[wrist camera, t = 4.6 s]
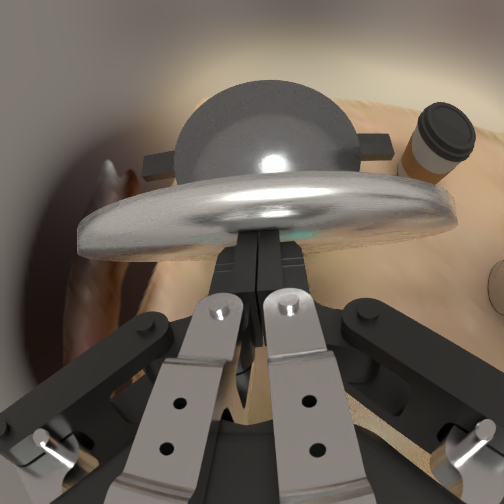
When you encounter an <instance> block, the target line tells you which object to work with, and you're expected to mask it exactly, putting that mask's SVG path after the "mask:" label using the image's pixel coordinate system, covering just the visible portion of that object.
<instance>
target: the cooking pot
mask: <svg viewBox="0 0 504 504" xmlns="http://www.w3.org/2000/svg"><path fill="white" fill-rule="evenodd" d="M394 154H395V153H394V150H393V146H392V143H391V140H390V137H389V134H356V131H355V129H354V127H353V125H352V123H351V121H350V120H349V118H348V117H347V116H346V114H345V113H344V112H343V111H342V110H341V109H340V107H339V106H338V105H336V104H335V103H334V102H333V101H332V100H331V99H329V98H328V97H326V96H325V95H323V94H322V93H320V92H317V91H316V90H314V89H311V88H309V87H306V86H303V85H301V84H296V83H293V82H288V81H281V80H261V81H253V82H247V83H244V84H239V85H236V86H233V87H231V88H228V89H226V90H224V91H222V92H220V93H218V94H216V95H215V96H213V97H211V98H210V99H208V100H207V101H206V102H205V103H203V104H202V105H201V106H200V107H199V108H198V109H197V110H196V111H195V112H194V113H193V114H192V115H191V117H190V118H189V119H188V120H187V122H186V124H185V125H184V127H183V129H182V131H181V133H180V135H179V137H178V140H177V144H176V147H175V151H169V152H164V153H158V154H153V155H148V156H144V160H143V170H142V177H143V178H144V180H145V181H146V182H149V181H156V180H162V179H168V178H175V177H176V181H177V184H178V185H182V184H186V183H191V182H197V181H203V180H210V179H217V178H224V177H232V176H239V175H248V174H261V173H275V172H292V171H352V172H359V170H360V163H361V161H375V160H392V158H393V156H394ZM303 254H305V253H303Z"/></svg>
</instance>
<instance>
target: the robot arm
mask: <svg viewBox="0 0 504 504" xmlns="http://www.w3.org/2000/svg"><path fill="white" fill-rule="evenodd" d="M488 290H489V297H490V300H491V303H492V305H493V307H494V308H495V310H496V311H497V312H498V313H500V314H502V315H504V260H503V261H501V262H499V263H497V264H496V265H495V266H494V268H493V269H492V271H491V274H490V277H489V283H488ZM263 336H264V343H265V346H267V351H268V370H269V381H270V392H271V403H272V414H273V420H269V421H265V422H262V423H258V424H253V425H248V411H249V404H250V397H251V390H252V383H253V376H254V369H255V364H254V358H255V347H263ZM142 369H143V370H144V372H145V375H143V376H142V377H141V378H140V379H138V380H137V381H136V382H134V383H133V384H132V385H131V386H129V387H128V388H127V389H126V390H124V391H123V392H121V393H120V394H119V395H117V396H116V397H113V398H110V396H111V394H112V393H113V391H115V390H116V389H117V388H118V387H119V386H121V385H122V384H124V383H125V382H126V381H128V380H129V379H130V378H131V377H133V376H134V375H135V374H137V373H138V372H139V371H141V370H142ZM345 391H346V392H347V393H348V394H349V395H351V396H352V397H353V398H355V399H356V400H357V401H359V402H360V403H361V404H362V405H364V406H365V407H366V408H368V409H369V410H370V411H372V412H373V413H374V414H376V415H377V416H378V417H380V418H381V419H382V420H384V421H385V422H386V423H388V424H389V425H390V426H392V427H393V428H395V429H396V430H397V431H399V432H400V433H401V434H403V435H404V436H406V437H407V438H408V439H410V440H411V441H412V442H414V443H415V444H417V445H418V446H419V447H421V448H422V449H424V450H425V451H427V452H428V453H429V454H431V458H430V468H431V471H432V474H433V475H434V477H435V478H436V479H437V480H438V481H439V482H440V483H441V484H442V485H441V484H439V483H438V482H437V481H435V480H434V479H433V478H431V477H430V476H429V475H427V474H426V473H425V472H423V471H422V470H421V469H420V468H418V467H417V466H416V465H414V464H413V463H412V462H411V461H409V460H408V459H407V458H406V457H404V456H403V455H402V454H401V453H399V452H398V451H397V450H396V449H394V448H393V447H392V446H391V445H389V444H388V443H387V442H386V441H385V440H383V439H382V438H381V437H379V436H378V435H377V434H375V433H373V432H372V431H370V430H368V429H366V428H363V427H361V426H358V425H355V424H353V421H352V417H351V413H350V409H349V405H348V401H347V398H346V394H345ZM0 454H1V455H2V456H3V457H5V458H6V459H7V460H9V461H10V462H11V463H12V464H13V465H14V466H15V467H16V469H17V471H18V473H19V476H20V478H21V480H22V482H23V485H24V487H25V489H26V491H27V493H28V495H29V497H30V499H31V501H32V503H33V504H499V503H500V501H501V500H502V498H503V496H504V373H503V372H501V371H500V370H498V369H496V368H495V367H493V366H491V365H490V364H488V363H486V362H485V361H483V360H481V359H480V358H478V357H476V356H475V355H473V354H471V353H470V352H468V351H466V350H465V349H463V348H461V347H459V346H458V345H456V344H454V343H453V342H451V341H449V340H448V339H446V338H444V337H442V336H441V335H439V334H437V333H436V332H434V331H432V330H430V329H429V328H427V327H425V326H423V325H422V324H420V323H418V322H417V321H415V320H413V319H411V318H410V317H408V316H406V315H404V314H403V313H401V312H399V311H397V310H396V309H394V308H392V307H390V306H389V305H387V304H385V303H383V302H381V301H379V300H376V299H372V298H360V299H356V300H353V301H351V302H350V303H348V304H347V305H346V306H345V308H344V309H343V310H339V309H332V308H328V307H324V306H322V305H320V304H318V303H317V302H316V301H314V300H313V298H312V297H311V295H310V292H309V287H308V281H307V276H306V270H305V265H304V259H303V253H302V248H301V247H300V246H299V245H298V244H297V243H296V242H295V241H287V242H280V235H279V229H272V230H261V231H259V233H258V231H250V232H239V233H238V238H237V244H236V246H229V247H225V248H224V249H223V250H222V251H221V252H220V253H219V254H218V257H217V261H216V266H215V270H214V274H213V278H212V282H211V287H210V291H209V295H208V297H206V298H204V299H203V300H201V301H200V302H199V303H198V305H197V306H196V308H195V311H194V314H193V315H192V316H190V317H187V318H184V319H180V320H176V321H173V322H169V321H168V319H167V317H166V316H165V315H164V314H162V313H160V312H145V313H142V314H139V315H137V316H136V317H134V318H133V319H131V320H130V321H128V322H127V323H125V324H124V325H123V326H121V327H120V328H118V329H117V330H115V331H114V332H113V333H111V334H110V335H108V336H107V337H106V338H104V339H103V340H101V341H100V342H98V343H97V344H96V345H94V346H93V347H91V348H90V349H89V350H87V351H86V352H84V353H83V354H82V355H80V356H79V357H77V358H76V359H75V360H73V361H72V362H70V363H69V364H68V365H66V366H65V367H63V368H62V369H61V370H59V371H58V372H56V373H55V374H54V375H52V376H51V377H49V378H48V379H47V380H45V381H44V382H42V383H41V384H40V385H38V386H37V387H36V388H34V389H33V390H31V391H30V392H29V393H27V394H26V395H25V396H23V397H22V398H20V399H19V400H18V401H16V402H15V403H14V404H12V405H11V406H10V407H8V408H7V409H6V410H4V411H3V412H1V413H0ZM103 461H104V462H103ZM99 464H100V465H99Z"/></svg>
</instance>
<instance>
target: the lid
mask: <svg viewBox="0 0 504 504" xmlns="http://www.w3.org/2000/svg"><path fill="white" fill-rule="evenodd" d="M457 225H458V222H457V215H456V208H455V202H454V197H453V196H452V195H451V194H450V193H449V192H448V191H447V190H445V189H443V188H441V187H439V186H437V185H433V184H430V183H427V182H424V181H420V180H416V179H411V178H405V177H400V176H394V175H386V174H376V173H364V172H352V171H292V172H275V173H261V174H248V175H239V176H232V177H224V178H217V179H210V180H203V181H197V182H191V183H186V184H182V185H177V186H172V187H168V188H163V189H159V190H154V191H150V192H147V193H143V194H140V195H137V196H133V197H130V198H127V199H124V200H120V201H118V202H115V203H113V204H111V205H108V206H106V207H103V208H101V209H99V210H97V211H95V212H94V213H92V214H90V215H89V216H87V217H85V218H84V219H83V220H82V221H81V222H80V223H79V226H78V229H77V248H78V254H79V255H80V256H82V257H85V258H90V259H96V260H107V261H130V262H162V261H197V260H217V257H218V254H219V253H220V252H221V251H222V250H223V249H224V248H225V247H229V246H236V244H237V238H238V233H239V232H250V231H258V233H259V231H261V230H272V229H279V235H280V242H287V241H295V242H296V243H297V244H298V245H299V246H300V247H301V248H302V253H313V252H323V251H333V250H342V249H351V248H359V247H367V246H375V245H382V244H389V243H395V242H402V241H408V240H413V239H418V238H424V237H428V236H432V235H436V234H440V233H444V232H446V231H449V230H452V229H454V228H455V227H456V226H457Z"/></svg>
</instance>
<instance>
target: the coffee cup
mask: <svg viewBox="0 0 504 504" xmlns="http://www.w3.org/2000/svg"><path fill="white" fill-rule="evenodd" d="M475 140H476V134H475V130H474V127H473V125H472V123H471V122H470V121H469V119H468V118H467V116H466V115H465V114H464V113H463V112H462V111H460V110H459V109H458V108H456V107H455V106H453V105H451V104H447V103H445V102H437V103H433V104H432V105H430V106H428V107H427V108H425V109H424V111H423V112H422V113H421V114H420V116H419V118H418V124H417V126H416V128H415V130H414V132H413V134H412V136H411V138H410V140H409V143H408V145H407V147H406V149H405V151H404V154H403V156H402V159H401V161H400V163H399V166H398V175H399V176H400V177H405V178H411V179H416V180H420V181H424V182H427V183H430V184H433V185H435V184H437V183H438V182H439V181H440V180H441V179H443V178H444V177H445V176H446V175H447V174H448V173H450V172H451V171H452V170H453V169H454V168H455V167H456V166H457V165H458V164H459V163H460V162H461V161H464V160H466V159H467V158H468V157H469V155H470V153H471V152H472V151H473V148H474V143H475Z"/></svg>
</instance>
